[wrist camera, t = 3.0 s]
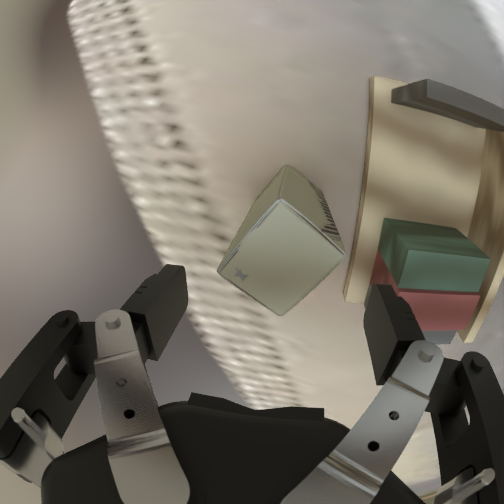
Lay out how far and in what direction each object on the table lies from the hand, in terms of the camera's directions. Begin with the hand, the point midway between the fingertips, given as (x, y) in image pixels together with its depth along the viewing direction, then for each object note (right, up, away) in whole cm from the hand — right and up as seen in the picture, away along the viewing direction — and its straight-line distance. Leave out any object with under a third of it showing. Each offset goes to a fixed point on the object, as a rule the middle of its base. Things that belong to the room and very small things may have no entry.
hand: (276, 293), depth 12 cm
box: (+2, +7, +13) cm, 15 cm away
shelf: (+15, +6, +11) cm, 20 cm away
